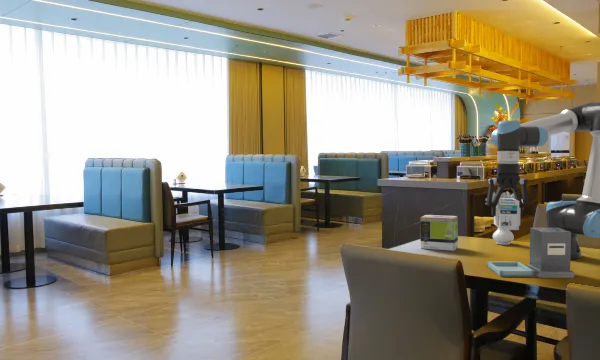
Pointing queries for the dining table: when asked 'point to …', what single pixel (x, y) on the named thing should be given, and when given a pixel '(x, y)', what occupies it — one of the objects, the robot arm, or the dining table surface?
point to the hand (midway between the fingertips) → (506, 224)
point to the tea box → (439, 232)
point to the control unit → (550, 253)
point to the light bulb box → (508, 214)
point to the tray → (510, 269)
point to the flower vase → (503, 235)
